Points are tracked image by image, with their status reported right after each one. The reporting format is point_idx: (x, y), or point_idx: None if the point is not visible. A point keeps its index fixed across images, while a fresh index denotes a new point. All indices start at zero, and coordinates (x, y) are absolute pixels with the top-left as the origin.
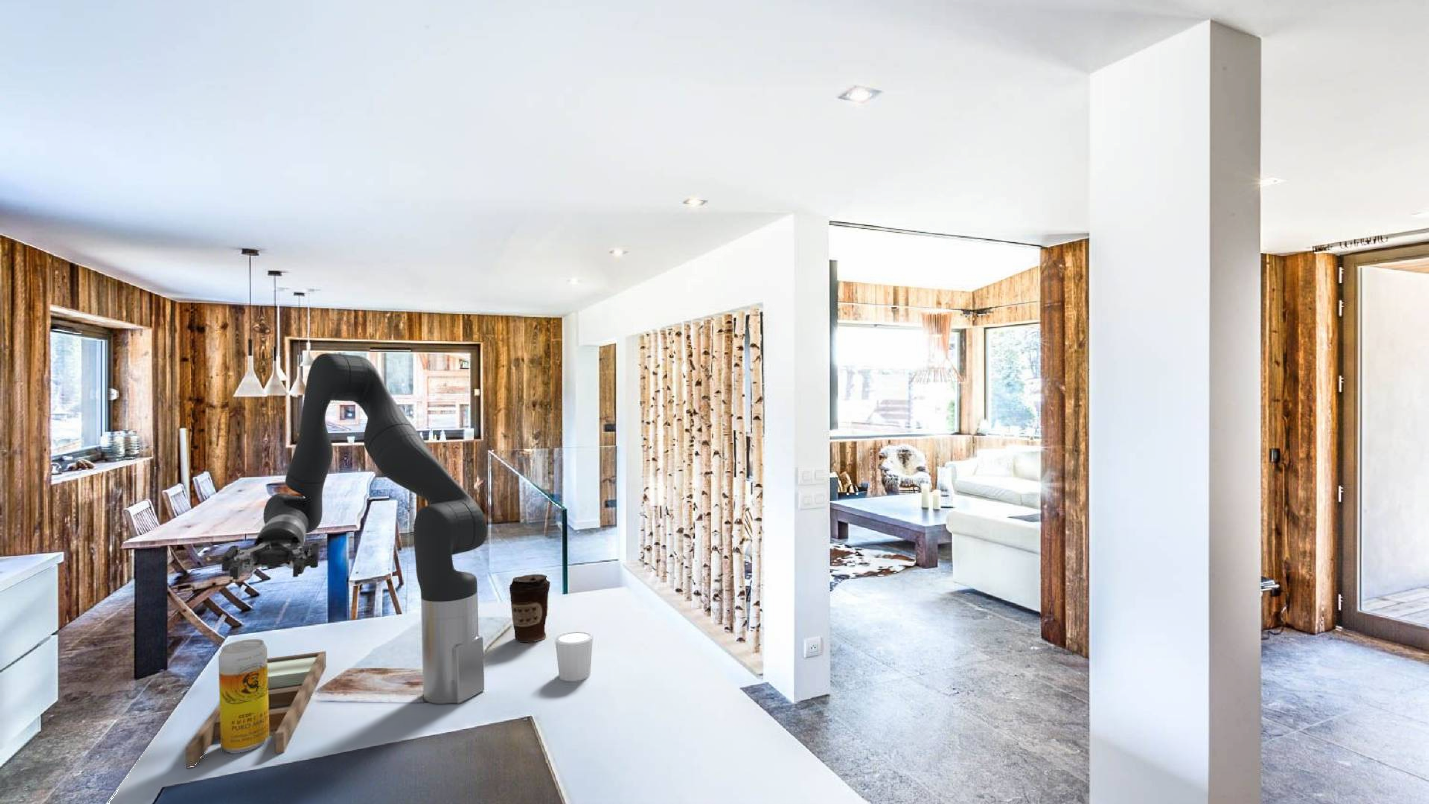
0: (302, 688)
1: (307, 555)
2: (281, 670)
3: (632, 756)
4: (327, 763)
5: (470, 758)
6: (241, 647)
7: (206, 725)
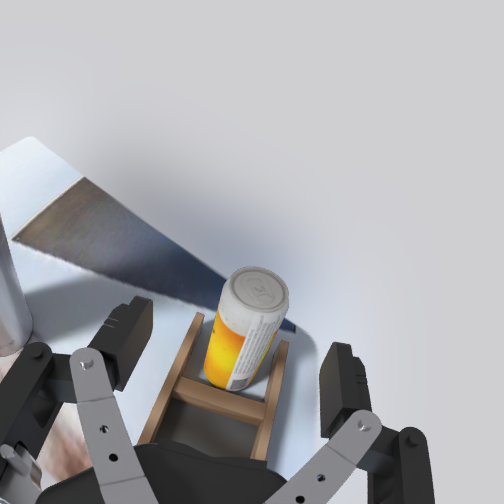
0: (147, 435)
1: (37, 464)
2: None
3: (35, 176)
4: (166, 281)
5: (85, 221)
6: (260, 282)
7: (275, 388)
